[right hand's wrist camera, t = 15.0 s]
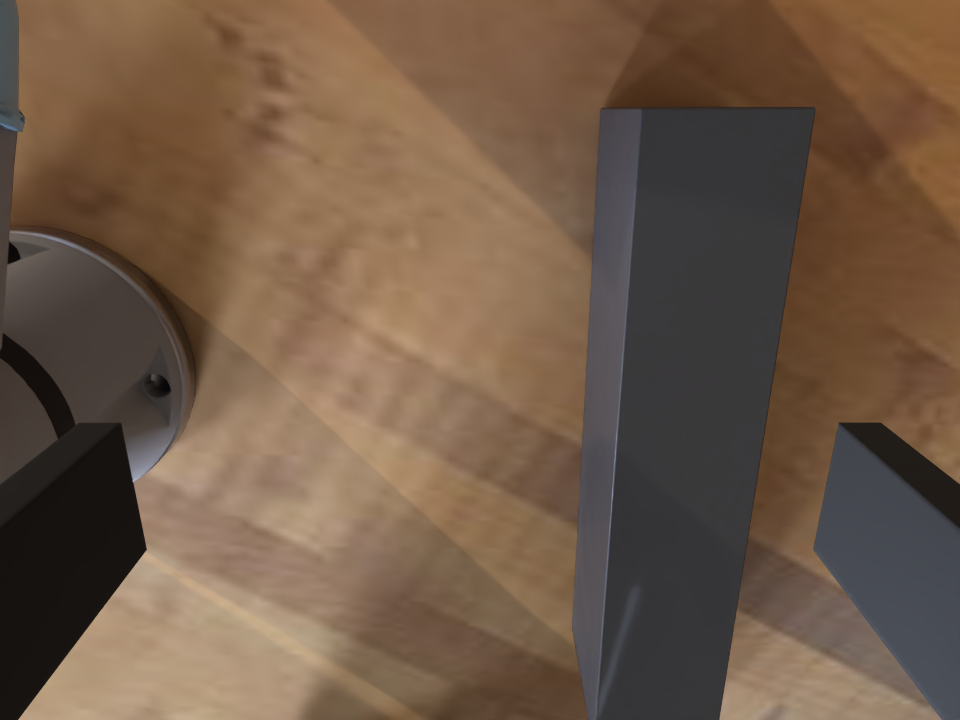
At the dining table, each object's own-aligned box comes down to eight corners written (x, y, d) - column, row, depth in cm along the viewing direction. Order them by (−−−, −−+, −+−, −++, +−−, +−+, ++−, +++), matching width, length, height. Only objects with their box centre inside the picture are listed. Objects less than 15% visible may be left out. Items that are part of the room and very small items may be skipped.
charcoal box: (670, 628, 45) (715, 749, 36) (571, 628, 45) (592, 749, 36) (732, 107, 34) (817, 107, 25) (600, 107, 34) (640, 107, 25)
